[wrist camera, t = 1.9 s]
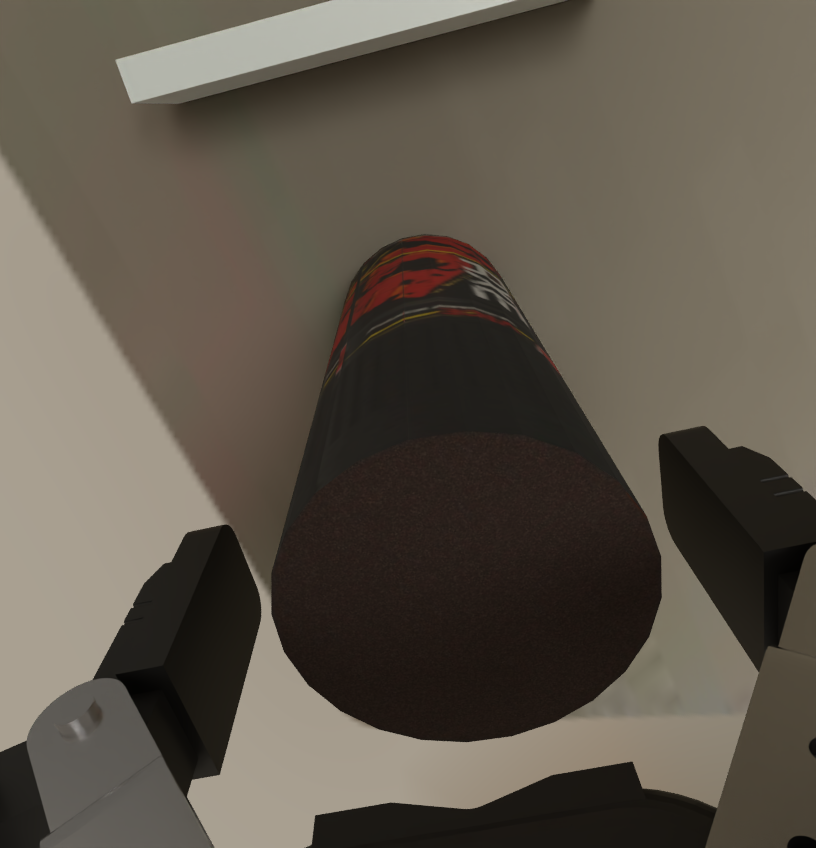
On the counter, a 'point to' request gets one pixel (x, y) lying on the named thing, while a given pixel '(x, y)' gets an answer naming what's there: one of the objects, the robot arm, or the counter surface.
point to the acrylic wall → (298, 44)
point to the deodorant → (456, 516)
